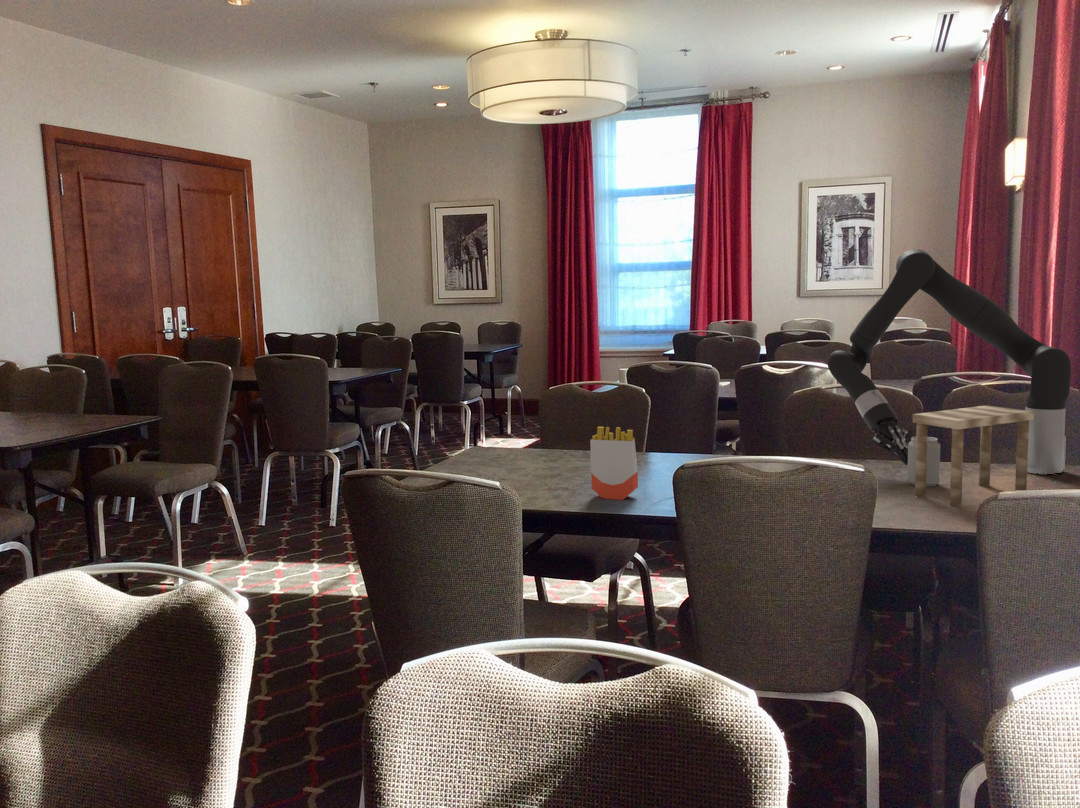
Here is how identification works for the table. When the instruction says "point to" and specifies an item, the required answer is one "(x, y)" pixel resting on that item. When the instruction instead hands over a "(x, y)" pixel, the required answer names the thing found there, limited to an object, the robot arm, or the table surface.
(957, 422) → the stand
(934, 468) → the can
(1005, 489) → the table surface
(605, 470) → the french fries container
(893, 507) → the table surface
